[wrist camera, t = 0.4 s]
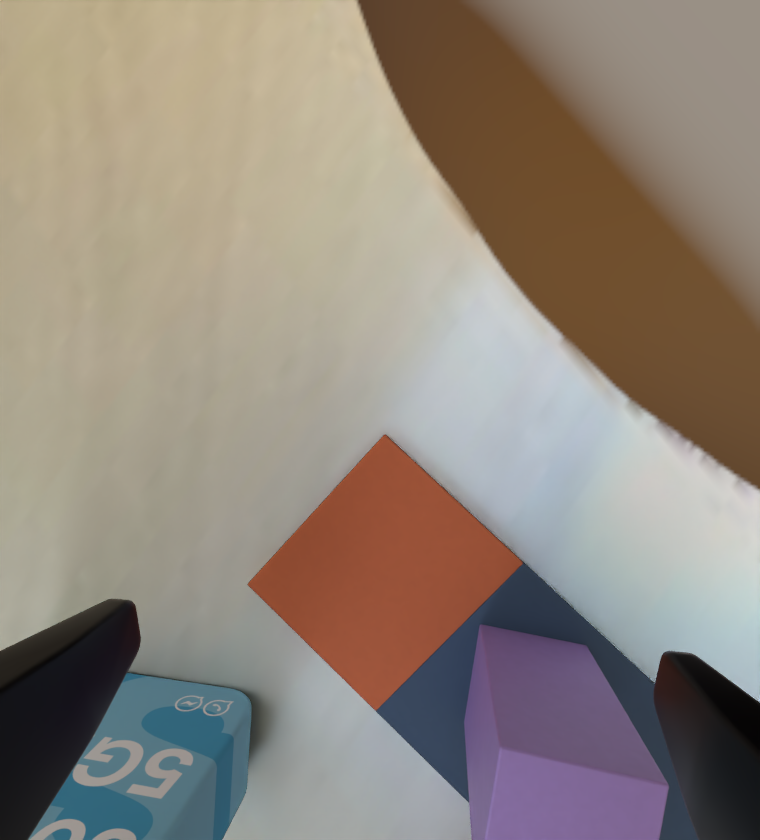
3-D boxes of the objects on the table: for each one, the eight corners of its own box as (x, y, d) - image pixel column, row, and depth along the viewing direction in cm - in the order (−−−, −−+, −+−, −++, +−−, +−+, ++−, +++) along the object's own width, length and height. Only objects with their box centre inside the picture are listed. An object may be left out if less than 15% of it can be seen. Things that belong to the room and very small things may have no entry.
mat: (804, 822, 22) (808, 828, 22) (636, 963, 23) (638, 970, 23) (385, 434, 24) (384, 434, 24) (249, 582, 25) (246, 584, 25)
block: (569, 746, 23) (641, 943, 15) (463, 722, 24) (474, 898, 15) (586, 644, 23) (671, 785, 14) (479, 623, 23) (499, 746, 15)
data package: (262, 690, 25) (101, 944, 13) (257, 774, 26) (94, 1098, 14) (53, 659, 27) (-257, 862, 15) (50, 738, 27) (-259, 1001, 15)
